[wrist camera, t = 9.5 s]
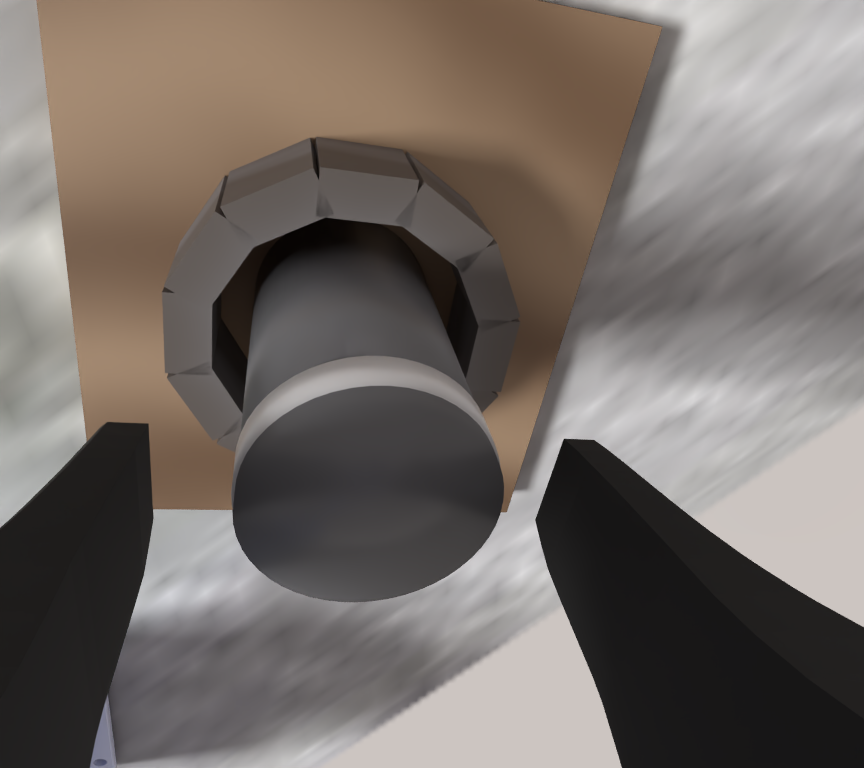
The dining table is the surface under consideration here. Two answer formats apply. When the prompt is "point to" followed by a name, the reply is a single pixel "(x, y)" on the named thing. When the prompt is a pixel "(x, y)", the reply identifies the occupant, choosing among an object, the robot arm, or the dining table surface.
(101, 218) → the mount
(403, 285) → the lens
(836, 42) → the dining table surface
